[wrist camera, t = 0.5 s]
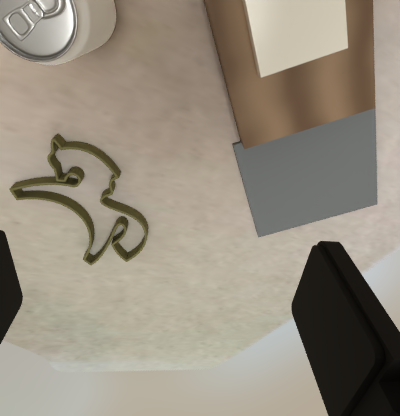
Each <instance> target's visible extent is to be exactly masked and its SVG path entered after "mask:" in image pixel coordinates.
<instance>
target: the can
mask: <svg viewBox="0 0 400 416" xmlns="http://www.w3.org/2000/svg"><path fill="white" fill-rule="evenodd" d="M115 24H116V8H115V3H114V0H0V42H1V44H3V45H4V46H5V47H6V48H7V49H8V50H10V51H11V52H12V53H14V54H15V55H17V56H19V57H21V58H23V59H26V60H29V61H33V62H35V63H39V64H43V65H59V64H64V63H67V62H69V61H72V60H74V59H76V58H78V57H80V56H82V55H85V54H87V53H89V52H91V51H93V50H95V49H97V48H99V47H100V46H102V45H103V44H105V43H106V42H107V41H108V40H109V38H110V37H111V35H112V33H113V31H114V28H115Z"/></svg>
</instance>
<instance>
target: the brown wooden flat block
mask: <svg viewBox="0 0 400 416" xmlns="http://www.w3.org/2000/svg"><path fill="white" fill-rule="evenodd" d="M204 3H205V6H206V10H207V14H208V18H209V22H210V25H211V29H212V33H213V37H214V41H215V45H216V48H217V52H218V56H219V60H220V64H221V67H222V71H223V75H224V79H225V83H226V86H227V90H228V94H229V98H230V102H231V106H232V109H233V113H234V117H235V121H236V125H237V128H238V132H239V136H240V140H241V143H242V145H243V147H244V149H247V148H250V147H253V146H257V145H260V144H263V143H266V142H269V141H272V140H276V139H279V138H282V137H285V136H288V135H291V134H295V133H298V132H301V131H304V130H307V129H310V128H314V127H317V126H320V125H323V124H326V123H329V122H333V121H336V120H339V119H342V118H345V117H348V116H352V115H355V114H358V113H361V112H364V111H367V110H371V109H374V108H375V74H374V28H373V0H345V5H346V22H347V38H348V48H347V49H344V50H341V51H338V52H335V53H332V54H329V55H326V56H323V57H320V58H317V59H315V60H312V61H309V62H306V63H303V64H300V65H297V66H294V67H291V68H288V69H285V70H282V71H279V72H276V73H274V74H271V75H268V76H265V77H262V78H261V77H260V76H258V74H257V69H256V64H255V59H254V55H253V50H252V45H251V40H250V35H249V30H248V26H247V21H246V16H245V11H244V6H243V2H242V0H204Z"/></svg>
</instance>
